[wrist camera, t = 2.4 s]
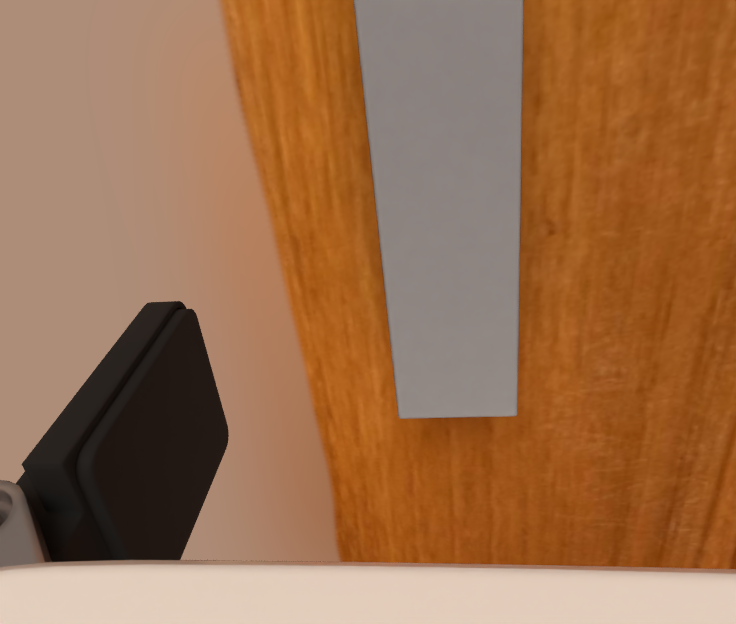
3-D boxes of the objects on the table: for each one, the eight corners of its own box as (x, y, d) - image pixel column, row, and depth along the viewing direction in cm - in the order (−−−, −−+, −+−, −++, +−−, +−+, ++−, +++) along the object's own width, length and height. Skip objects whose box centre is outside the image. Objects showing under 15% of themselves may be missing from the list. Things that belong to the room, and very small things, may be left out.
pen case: (359, -117, 16) (339, -123, 13) (507, -137, 16) (526, -148, 12) (404, 345, 24) (398, 419, 20) (506, 342, 23) (517, 417, 20)
